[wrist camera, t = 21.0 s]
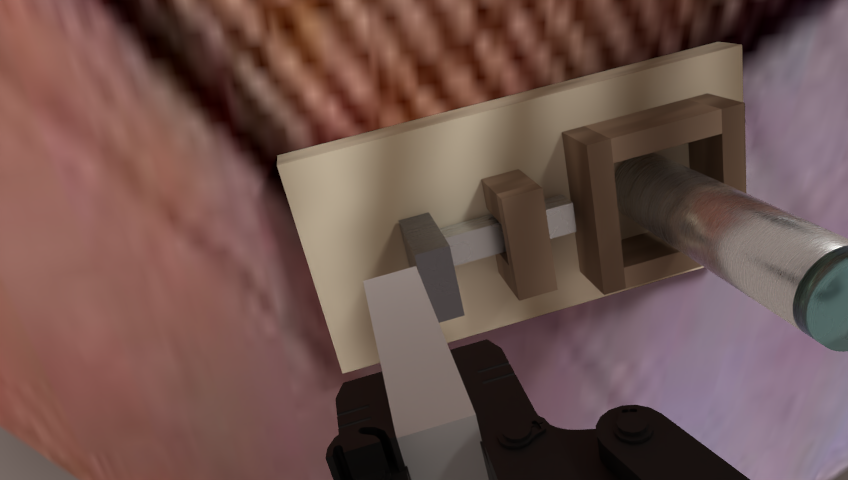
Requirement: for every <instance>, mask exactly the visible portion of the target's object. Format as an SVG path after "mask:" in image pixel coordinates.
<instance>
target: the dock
mask: <svg viewBox="0 0 848 480" xmlns="http://www.w3.org/2000/svg"><path fill="white" fill-rule="evenodd" d="M649 153H657V154H659V155H661V156H664V157H666V158H668V159H670V160H673V161H675V162H677V163H679V164H681V165H684V166H686V167H688V168H690V169H693V170H695V171H697V172H699V173H702V174H704V175H706V176H708V177H710V178H713V179H715V180H717V181H719V182H722V183H724V184H726V185H728V186H731V187H733V188H735V189H737V190H739V191H742V192H744V193H746V151H745V103H744V102H743V68H742V45H740V44H733V43H725V42H715V43H711V44H707V45H703V46H699V47H696V48H692V49H688V50H684V51H680V52H676V53H672V54H669V55H665V56H661V57H657V58H653V59H649V60H645V61H641V62H638V63H634V64H630V65H626V66H622V67H618V68H614V69H610V70H607V71H603V72H599V73H595V74H591V75H587V76H583V77H579V78H576V79H572V80H568V81H564V82H560V83H556V84H552V85H548V86H545V87H541V88H537V89H533V90H529V91H525V92H521V93H518V94H514V95H510V96H506V97H502V98H498V99H494V100H490V101H487V102H483V103H479V104H475V105H471V106H467V107H463V108H459V109H456V110H452V111H448V112H444V113H440V114H436V115H432V116H428V117H425V118H421V119H417V120H413V121H409V122H405V123H401V124H398V125H394V126H390V127H386V128H382V129H378V130H374V131H370V132H367V133H363V134H359V135H355V136H351V137H347V138H343V139H339V140H336V141H332V142H328V143H324V144H320V145H316V146H312V147H308V148H305V149H301V150H297V151H293V152H289V153H285V154H281V155H277V167H278V171H279V174H280V177H281V180H282V183H283V186H284V190H285V193H286V196H287V199H288V202H289V205H290V209H291V212H292V215H293V218H294V221H295V224H296V228H297V231H298V234H299V237H300V240H301V244H302V247H303V250H304V253H305V256H306V259H307V263H308V266H309V269H310V272H311V275H312V278H313V282H314V285H315V288H316V291H317V294H318V297H319V301H320V304H321V307H322V310H323V313H324V316H325V320H326V323H327V326H328V329H329V332H330V335H331V339H332V342H333V345H334V348H335V351H336V354H337V358H338V361H339V364H340V367H341V370H342V373H347V372H350V371H354V370H357V369H360V368H364V367H367V366H371V365H374V364H377V363H380V359H379V354H378V349H377V345H376V340H375V335H374V331H373V326H372V321H371V316H370V312H369V307H368V302H367V298H366V293H365V288H364V283H363V281H365V280H368V279H372V278H375V277H379V276H383V275H386V274H390V273H393V272H397V271H400V270H404V269H407V268H410V267H409V263H408V258H407V254H406V250H405V246H404V242H403V238H402V234H401V230H400V226H399V222H398V220H402V219H406V218H409V217H413V216H417V215H420V214H424V213H428V212H429V213H430V215H431V216H432V218H433V220H434V221H435V223H436V224H437V226H438V228H442V227H446V226H450V225H453V224H457V223H461V222H464V221H468V220H471V219H475V218H479V217H482V216H486V215H490V214H492V215H493V216H494V217H495V218H496V219H497V220H498V221H499V223H500V224H501V225H502V229H503V235H504V240H505V246H506V252H502V253H499V254H495V255H492V256H488V257H485V258H481V259H478V260H474V261H471V262H467V263H464V264H460V265H456V266H454V268H455V273H456V277H457V282H458V286H459V291H460V296H461V300H462V305H463V309H464V314H465V315H464V316H461V317H457V318H454V319H451V320H447V321H444V322H440V323H439V324H440V327H441V329H442V332H443V334H444V337H445V339H446V342H447V343H449V342H452V341H456V340H459V339H462V338H466V337H469V336H473V335H476V334H479V333H483V332H486V331H489V330H493V329H496V328H500V327H503V326H506V325H510V324H513V323H517V322H520V321H523V320H527V319H530V318H534V317H537V316H540V315H544V314H547V313H551V312H554V311H557V310H561V309H564V308H568V307H571V306H574V305H578V304H581V303H585V302H588V301H591V300H595V299H598V298H602V297H605V296H608V295H612V294H615V293H619V292H622V291H625V290H629V289H632V288H636V287H639V286H642V285H646V284H649V283H653V282H656V281H659V280H663V279H666V278H669V277H673V276H676V275H680V274H683V273H686V272H690V271H693V270H697V269H700V268H703V266H702V265H700V264H699V263H697V262H696V261H694V260H693V259H691V258H689V257H688V256H686V255H685V254H683V253H682V252H680V251H679V250H677V249H676V248H674V247H673V246H671V245H670V244H668V243H667V242H665V241H664V240H662V239H660V238H659V237H657V236H656V235H654V234H653V233H651V232H650V231H648V230H647V229H645V228H644V227H642V226H641V225H639V224H638V223H636V222H634V221H633V220H631V219H630V218H628V217H627V216H625V215H624V214H622V213H621V212H620V211H618V205H617V195H616V185H615V173H616V171H617V170H618V169H619V167H620V166H621V165H622V164H623V163H624V162H625V161H626V160H627V159H631V158H634V157H638V156H642V155H645V154H649ZM558 195H563V196H565V197H566V198H567V199H569V200H570V201H571V202H573V208H574V215H575V223H576V231H577V232H573V233H570V234H566V235H563V236H559V237H555V238H552V239H550V235H549V228H548V221H547V214H546V208H545V201H544V199H547V198H551V197H555V196H558Z"/></svg>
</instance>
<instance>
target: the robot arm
mask: <svg viewBox="0 0 848 480" xmlns="http://www.w3.org/2000/svg"><path fill="white" fill-rule="evenodd" d="M363 283H364V288H365V293H366V298H367V302H368V307H369V312H370V316H371V321H372V326H373V331H374V335H375V340H376V345H377V349H378V354H379V359H380V363H381V368H382V372H379V373H376V374H372V375H369V376H365V377H362V378H358V379H355V380H352V381H348V382H345V383H343V384H342V386H341V389H340V391H339V393H338V395H337V397H336V408H337V416H338V417H337V419H338V427H339V429H338V430H339V435H338V436H336V437H335V438H334V440H333V441H332V442H331V444H330V445H329V447H328V449H327V453H326V460H327V463H328V466H329V469H330V471H331V474H332V477H333V479H334V480H750V479H748V478H747V477H746V476H744V475H743V474H742V473H740V472H739V471H738V470H736V469H735V468H734V467H732V466H731V465H730V464H728V463H727V462H726V461H724V460H723V459H722V458H720V457H719V456H718V455H716V454H715V453H714V452H712V451H711V450H710V449H708V448H707V447H706V446H704V445H703V444H702V443H700V442H699V441H698V440H696V439H695V438H694V437H692V436H691V435H689V434H688V433H687V432H685V431H684V430H683V429H681V428H680V427H679V426H677V425H676V424H675V423H673V422H672V421H671V420H669V419H668V418H667V417H665V416H664V415H663V414H661V413H659V412H657V411H655V410H653V409H652V408H649V407H644V406H639V405H625V406H620V407H617V408H614V409H611V410H609V411H607V412H606V413H605V414H604V415H602V416H601V417H600V419H599V421H598V423H597V425H596V429H586V430H566V429H561V428H557V427H554V426H552V425H550V424H549V423H548V422H547V421H546V420H545V419H544V418H542V417H540V416H538V415H537V413H536V412H535V410H534V408H533V406H532V404H531V402H530V401H529V399H528V397H527V395H526V393H525V391H524V389H523V388H522V386H521V384H520V382H519V380H518V378H517V377H516V375H515V374H514V371H513V369H512V367H511V365H510V364H509V362H508V360H507V358H506V356H505V354H504V352H503V351H502V349H501V348H500V347H498V346H497V345H495V344H493V343H492V342H490V341H489V340H487V339H486V340H483V341H479V342H476V343H473V344H469V345H466V346H462V347H459V348H456V349H452V350H450V349H449V347H448V344H447V342H446V339H445V337H444V334H443V332H442V329H441V327H440V324H439V322H438V319H437V317H436V314H435V312H434V309H433V307H432V305H431V302H430V300H429V297H428V295H427V292H426V290H425V287H424V285H423V282H422V280H421V277H420V275H419V272H418V270H417V267H416V266H414V267H411V268H407V269H404V270H400V271H397V272H393V273H390V274H386V275H383V276H379V277H375V278H372V279H368V280H365V281H363Z"/></svg>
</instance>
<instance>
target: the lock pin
mask: <svg viewBox="0 0 848 480" xmlns="http://www.w3.org/2000/svg"><path fill="white" fill-rule="evenodd" d="M544 201H545V208H546V214H547V221H548V228H549V235H550V239H552V238H555V237H559V236H563V235H566V234H570V233H573V232H577V231H576V223H575V215H574V208H573V202H571V201H570V200H569V199H567V198H566V197H565V196H563V195H558V196H555V197H551V198H547V199H544ZM398 222H399V226H400V230H401V234H402V238H403V242H404V246H405V250H406V254H407V258H408V263H409V267H410V268H411V267H414V266H416V267H417V270H418V272H419V275H420V277H421V280H422V282H423V285H424V287H425V290H426V292H427V295H428V297H429V300H430V302H431V305H432V307H433V309H434V312H435V314H436V317H437V319H438V322H439V323H440V322H444V321H447V320H451V319H454V318H457V317H461V316H464V315H465V314H464V309H463V305H462V300H461V296H460V291H459V286H458V282H457V277H456V273H455V268H454V266H456V265H460V264H464V263H467V262H471V261H474V260H478V259H481V258H485V257H488V256H492V255H495V254H499V253H502V252H506V246H505V240H504V235H503V229H502V225H501V224H500V223H499V221H498V220H497V219H496V218H495V217H494V216H493V215H492V214H490V215H486V216H482V217H479V218H475V219H471V220H468V221H464V222H461V223H457V224H453V225H450V226H446V227H442V228H438V226H437V224H436V223H435V221H434V220H433V218H432V216H431V215H430V213H429V212H428V213H424V214H420V215H417V216H413V217H409V218H406V219H402V220H398Z"/></svg>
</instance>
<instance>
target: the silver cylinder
mask: <svg viewBox="0 0 848 480" xmlns="http://www.w3.org/2000/svg"><path fill="white" fill-rule="evenodd" d="M615 185H616V195H617V205H618V211H620V212H621V213H622V214H624V215H625V216H627V217H628V218H630V219H631V220H633V221H634V222H636V223H638V224H639V225H641V226H642V227H644V228H645V229H647V230H648V231H650V232H651V233H653V234H654V235H656V236H657V237H659V238H660V239H662V240H664V241H665V242H667V243H668V244H670V245H671V246H673V247H674V248H676V249H677V250H679V251H680V252H682V253H683V254H685V255H686V256H688V257H689V258H691V259H693V260H694V261H696V262H697V263H699V264H700V265H702V266H703V267H705V268H706V269H708V270H709V271H711V272H712V273H714V274H715V275H717V276H718V277H720V278H722V279H723V280H725V281H726V282H728V283H729V284H731V285H732V286H734V287H735V288H737V289H738V290H740V291H741V292H743V293H744V294H746V295H747V296H749V297H751V298H752V299H754V300H755V301H757V302H758V303H760V304H761V305H763V306H764V307H766V308H767V309H769V310H770V311H772V312H773V313H775V314H776V315H778V316H780V317H781V318H783V319H784V320H786V321H787V322H789V323H790V324H792V325H793V326H795V327H796V328H798V329H799V330H801V331H802V332H804V333H805V334H807V335H809V336H810V337H812V338H813V339H815V340H816V341H818V342H819V343H821V344H822V345H824V346H825V347H827V348H829V349H831V350H834V351H848V239H847V238H844V237H842V236H840V235H838V234H835V233H833V232H831V231H829V230H827V229H824V228H822V227H820V226H818V225H815V224H813V223H811V222H809V221H806V220H804V219H802V218H800V217H798V216H795V215H793V214H791V213H789V212H786V211H784V210H782V209H780V208H777V207H775V206H773V205H771V204H769V203H766V202H764V201H762V200H760V199H757V198H755V197H753V196H751V195H748V194H746V193H744V192H742V191H739V190H737V189H735V188H733V187H731V186H728V185H726V184H724V183H722V182H719V181H717V180H715V179H713V178H710V177H708V176H706V175H704V174H702V173H699V172H697V171H695V170H693V169H690V168H688V167H686V166H684V165H681V164H679V163H677V162H675V161H673V160H670V159H668V158H666V157H664V156H661V155H659V154H657V153H649V154H645V155H642V156H638V157H634V158H631V159H627V160H626V161H625V162H624V163H623V164H622V165H621V166H620V167H619V169H618V170H617V171H616V173H615Z"/></svg>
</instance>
